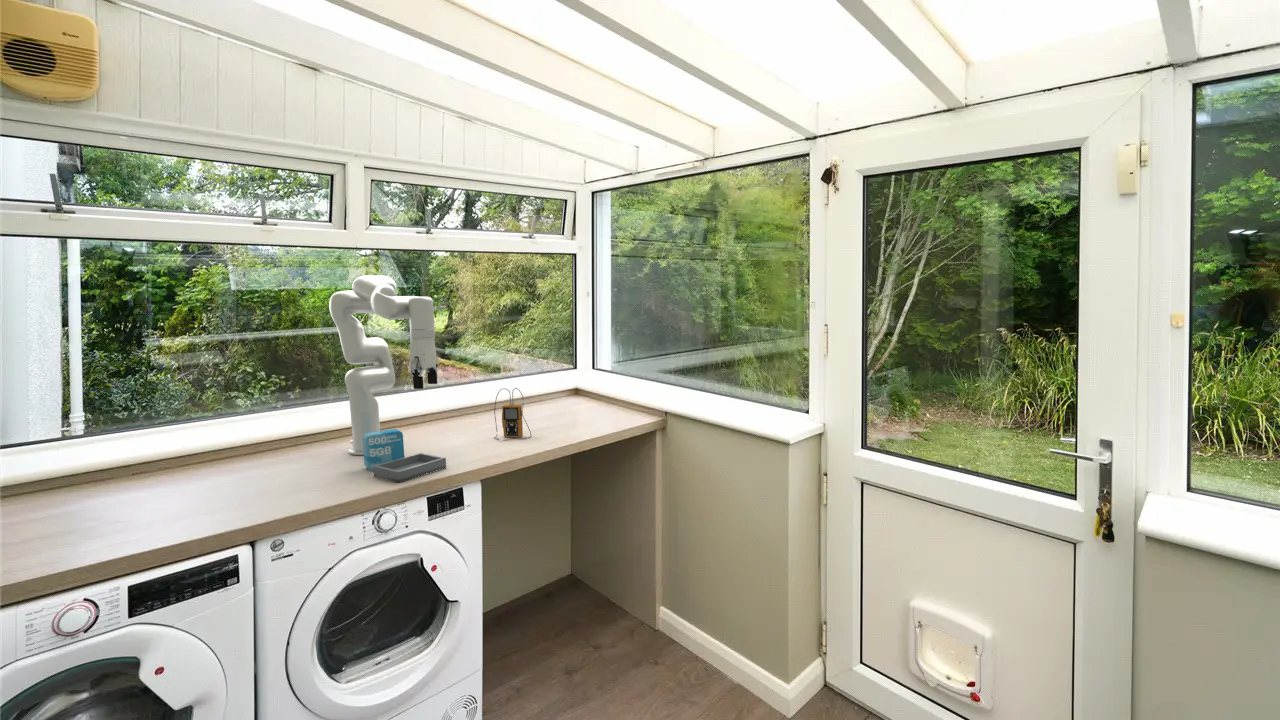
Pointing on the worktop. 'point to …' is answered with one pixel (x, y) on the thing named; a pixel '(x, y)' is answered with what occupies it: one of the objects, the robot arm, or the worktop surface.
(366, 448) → the data package
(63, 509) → the worktop surface
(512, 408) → the multimeter
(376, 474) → the parts tray
